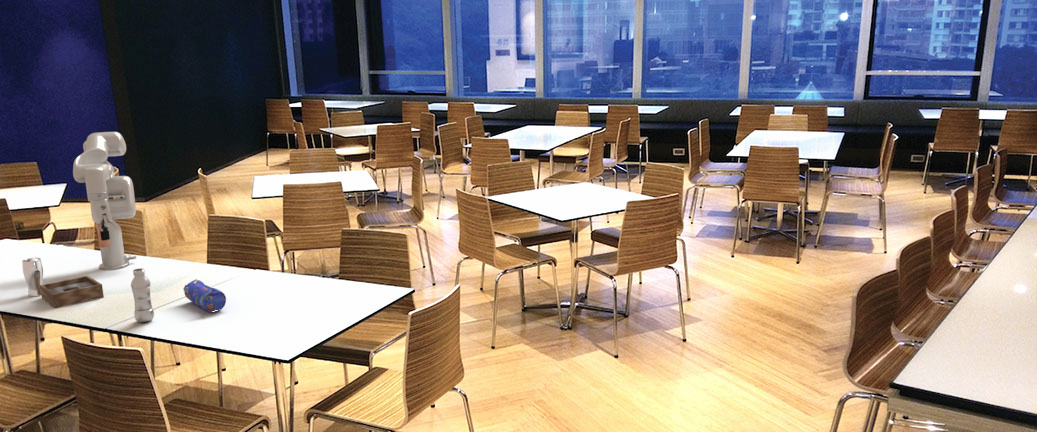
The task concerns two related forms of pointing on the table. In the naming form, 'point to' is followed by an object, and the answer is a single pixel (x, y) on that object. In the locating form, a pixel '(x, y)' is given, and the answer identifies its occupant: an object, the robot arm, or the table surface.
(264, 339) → the table surface
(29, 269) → the beer glass
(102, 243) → the peg
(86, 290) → the bore box
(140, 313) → the plastic bottle
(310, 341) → the table surface
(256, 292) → the table surface
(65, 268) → the table surface
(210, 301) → the pencil case
